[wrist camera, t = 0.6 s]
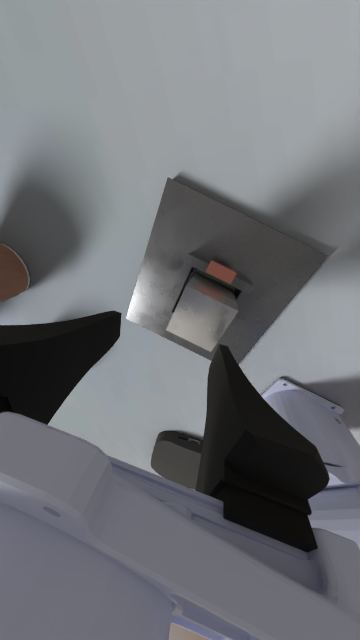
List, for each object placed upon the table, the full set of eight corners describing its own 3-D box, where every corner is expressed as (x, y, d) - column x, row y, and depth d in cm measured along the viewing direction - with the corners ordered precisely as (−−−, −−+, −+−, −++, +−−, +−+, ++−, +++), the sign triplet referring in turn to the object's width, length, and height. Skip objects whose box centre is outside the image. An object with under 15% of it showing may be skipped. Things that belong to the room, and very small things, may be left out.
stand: (321, 254, 16) (356, 259, 12) (231, 365, 24) (234, 392, 20) (170, 180, 16) (154, 160, 12) (129, 315, 24) (110, 331, 20)
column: (233, 285, 18) (240, 310, 11) (214, 317, 20) (211, 353, 13) (197, 268, 18) (185, 283, 11) (181, 301, 20) (164, 330, 13)
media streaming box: (212, 481, 39) (212, 499, 36) (152, 459, 40) (148, 475, 38) (232, 448, 32) (233, 466, 29) (159, 424, 34) (154, 439, 31)
